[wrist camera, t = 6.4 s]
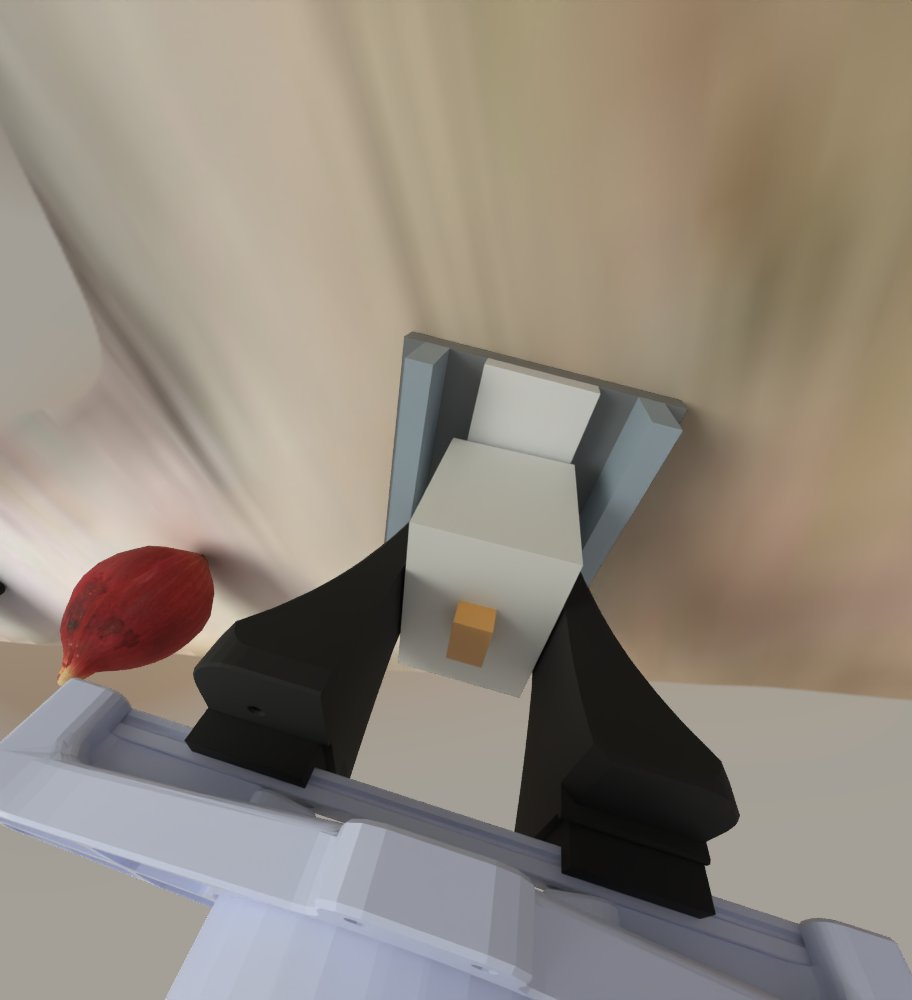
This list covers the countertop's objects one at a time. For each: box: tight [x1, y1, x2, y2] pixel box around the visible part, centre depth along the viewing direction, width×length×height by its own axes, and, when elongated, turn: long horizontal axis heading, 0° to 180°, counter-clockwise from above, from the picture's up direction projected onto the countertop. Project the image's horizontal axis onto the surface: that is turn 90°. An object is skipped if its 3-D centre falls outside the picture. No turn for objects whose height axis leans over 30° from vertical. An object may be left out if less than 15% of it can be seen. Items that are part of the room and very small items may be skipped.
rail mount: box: [384, 332, 688, 586], centre depth 14 cm, size 9×11×3 cm
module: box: [398, 438, 583, 698], centre depth 12 cm, size 4×6×5 cm, turn 172°
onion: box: [58, 546, 214, 687], centre depth 19 cm, size 6×6×8 cm
